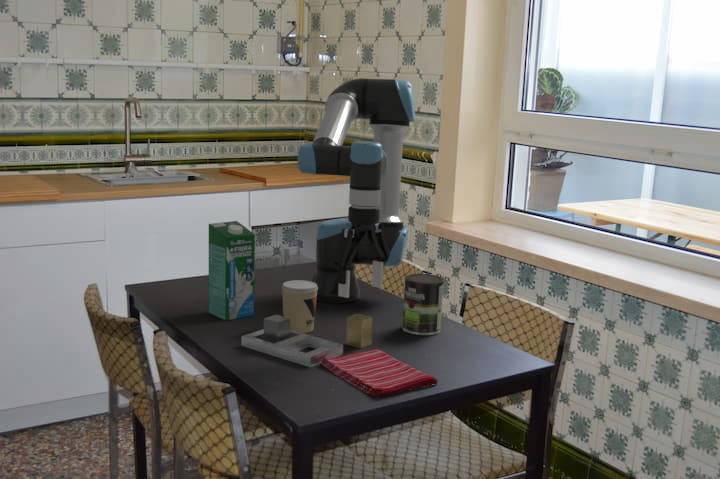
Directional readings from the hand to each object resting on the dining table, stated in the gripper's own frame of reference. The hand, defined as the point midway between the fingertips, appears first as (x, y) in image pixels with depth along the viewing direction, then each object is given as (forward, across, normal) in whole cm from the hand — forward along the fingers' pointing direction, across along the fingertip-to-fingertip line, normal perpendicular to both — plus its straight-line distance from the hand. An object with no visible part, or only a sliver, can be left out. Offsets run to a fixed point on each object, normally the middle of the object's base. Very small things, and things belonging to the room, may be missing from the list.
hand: (360, 291), depth 207 cm
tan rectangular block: (+14, 0, 0) cm, 14 cm away
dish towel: (+15, +14, +16) cm, 25 cm away
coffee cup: (+14, +1, -19) cm, 24 cm away
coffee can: (+14, -21, +5) cm, 26 cm away
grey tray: (+14, +15, -9) cm, 22 cm away
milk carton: (+14, +4, -41) cm, 44 cm away
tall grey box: (+14, +15, -14) cm, 25 cm away
